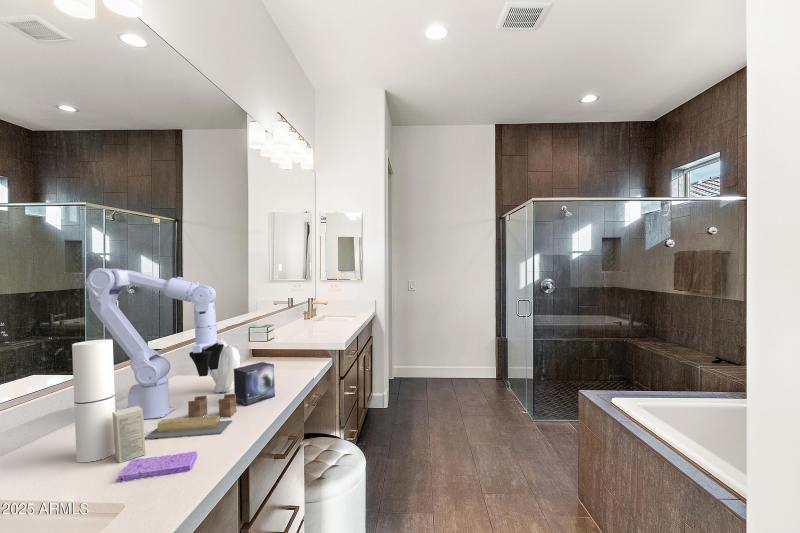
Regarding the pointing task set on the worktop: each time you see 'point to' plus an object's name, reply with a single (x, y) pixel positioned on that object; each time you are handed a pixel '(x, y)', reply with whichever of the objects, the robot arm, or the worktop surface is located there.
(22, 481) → the worktop surface
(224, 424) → the mat
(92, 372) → the cylindrical container
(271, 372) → the small box
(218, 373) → the shell sculpture
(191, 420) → the rail
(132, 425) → the skincare box
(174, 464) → the sponges
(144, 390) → the robot arm
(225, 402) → the posts
